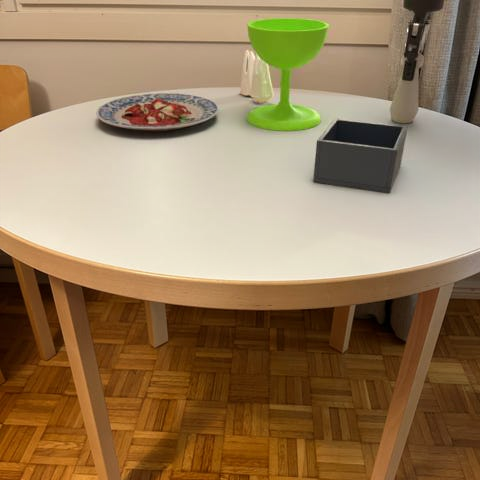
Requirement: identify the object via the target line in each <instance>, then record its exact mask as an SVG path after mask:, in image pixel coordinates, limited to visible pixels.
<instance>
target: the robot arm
mask: <svg viewBox="0 0 480 480" xmlns="http://www.w3.org/2000/svg"><path fill="white" fill-rule="evenodd" d="M444 5H445V0H402V4H401V7H402V9H403V10H405V11H410V12H413V15H412V19H409V21H408V22H407V25H406V26H407V27H406V30H407V31H406V38H405V43H404V47H405V48H404V52H403V56H404V58H405V64H404V70H403V69H402V70H403V76H402V80H404V81H412V80H413V79H414V75H415V69H416V64H417V60H418V59H419V54H422V53H423V51H424V47H425V45H426V43H427V40H428V35H429V31H430V27H431V24H432V21H431V20H430V19H431V15H430V14H429V12H430V13H431V12H432V13H433V12H439V11H442V9H444Z"/></svg>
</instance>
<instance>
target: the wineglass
mask: <svg viewBox="0 0 480 480" xmlns="http://www.w3.org/2000/svg"><path fill="white" fill-rule="evenodd" d="M246 25H247V35H248V39H249V41H250V44H251V47H252V49H253V50H254V52H255V54H256V53H257V55H258V56H259V57H260V58H261V59H262V60H263V61H264V62H265V63H267V64H268V66H269V67H273V68H275V69H278V70H280V94H279V95H280V96H279V102H278V103H277V104H268V105H263V106H259V107H256V108H254V109H252V110H251V111H250V112H249V113H248V115H247V117H246V121H247V122H248V123H249V124H250V125H251V126H253V127H256V128H259V129H263V130H268V131H269V130H270V131H283V132H291V131H293V132H294V131H302V130H303V131H304V130H308V129H311V128H314V127H316V126H318V125H320V123H321V121H322V120H321V119H322V118H321V116H320V114H319V113H318V112H317V111H315V110H314V109H312V108H309V107H307V106H304V105H299V104H298V105H297V104H291V102H290V90H291V74H292V73H291V72H292V70H295V69H298V68H301V67H303V66H306V65H308V63H310V62H312V60H314V59H315V58H316V57H317V55H318V54H319V53H320V52H321V50H322V49H323V47H324V45H325V42H326V41H327V38H328V33H329V27H330V24H329V23H328V22H325V21H323V20H316V19H307V18H297V17H296V18H295V17H293V18H292V17H291V18H290V17H288V18H287V17H285V18H280V17H279V18H263V19H257V20H252V21H250V22H248V23H247V24H246Z"/></svg>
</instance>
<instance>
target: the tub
mask: <svg viewBox="0 0 480 480" xmlns="http://www.w3.org/2000/svg"><path fill="white" fill-rule="evenodd" d="M408 128H409V127H408V126H407V125H398V124H389V123H380V122H371V121H361V120H352V119H343V118H334V119H333V120H332V121H331V123H330V124H329V125H328V126H327V127H326V129H325V130H324V131H323V132H322V134H321V135H320V136H319V137H318V139H317V140H316V147H315V157H314V169H313V181H312V182H313V183H318V184H325V185H332V186H339V187H344V188H345V187H346V188H352V189H359V190H365V191H373V192H380V193H385V194H386V193H387V194H391V191H392V189H393V186H394V183H395V181H396V179H397V176H398V173H399V171H398V170H400V168H401V166H400V165H402V160H403V155H404V148H405V144H406V138H407V133H408Z"/></svg>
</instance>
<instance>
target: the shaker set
mask: <svg viewBox="0 0 480 480" xmlns="http://www.w3.org/2000/svg"><path fill="white" fill-rule="evenodd" d="M240 78H241V79H240V86H239V88H240V89H239V95H240V94H241V95H242V96H250V97H251V98H252V99H253V100H254V101H256V102H257V103H258V104H262V103H265V102H267V101H269V100H271V99H272V98H273V97H275V94H274V88H273V83H272V78H271V74H270V65H268V64H267V63H265V62H264V61H263V60H262V59H261V58H260V57H259V56H258V55H257V53H256V52H255V54H254V52H253V51H252V50H250V51H249V49H247V50H245V51H244V54H243V61H242V70H241V77H240Z"/></svg>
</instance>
